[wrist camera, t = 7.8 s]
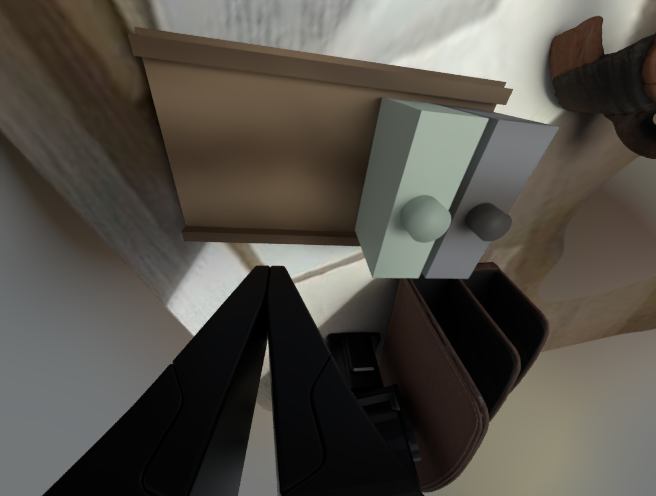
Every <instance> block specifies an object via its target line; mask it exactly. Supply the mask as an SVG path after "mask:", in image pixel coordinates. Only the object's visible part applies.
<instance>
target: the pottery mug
mask: <svg viewBox="0 0 656 496" xmlns="http://www.w3.org/2000/svg"><path fill="white" fill-rule="evenodd" d="M602 23H603V18H602V17H601V16H595V17H592V18H590V19H588V20H586V21H584V22H582V23H581V24H579V25H578V26H577V27H575V28H573V29H570V30H568V31H566V32H564V33H562V34H560V35H558V36H556V37H555V38H554V39H553V41H552V48H551V53H550V60H551V62H550V68H551V73H552V78H553V81H552V83H553V86H554V90H555V96H556V98H557V99H558V101H559V104H560V105H561V106H562V107H563V108H564V109H567V110H569V111H583V112H589V113H603V114H604V116H605V117H606V118H608V119H609V120H611V121H612V122H613V125H614V127H615V130H616V133H617V135H618V137H619V138H620V140H621V141H622V143H623V144H624V145H625V146H626V147H627V148H628V149H630V150H631V151H633V152H634V153H636V154H638V155H640V156H644V157H646V158H651V159H656V124H655V123H654V122H653V117H654V115H655V114H656V33H655V34H654V35H651V36H648V37H646V38H643V39H641V40H640V41H638V42H636V43H634V44H632V45H630V46H628V47H626V48H624V49H622V50H620V51H618V52H615V53H611V54H606V55H605V54H604V49H603V46H602Z"/></svg>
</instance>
